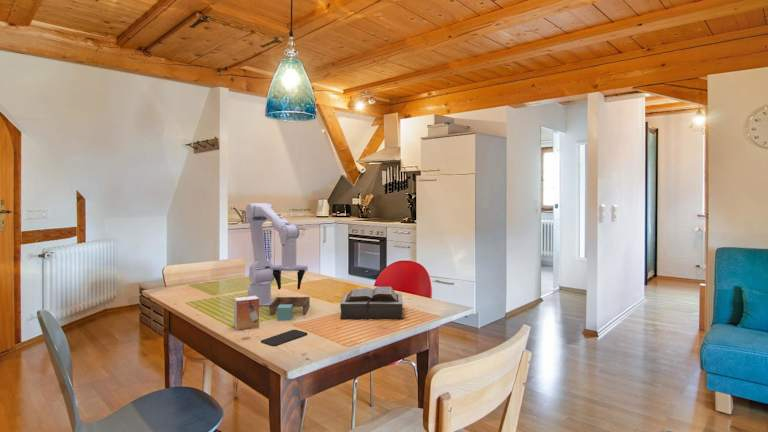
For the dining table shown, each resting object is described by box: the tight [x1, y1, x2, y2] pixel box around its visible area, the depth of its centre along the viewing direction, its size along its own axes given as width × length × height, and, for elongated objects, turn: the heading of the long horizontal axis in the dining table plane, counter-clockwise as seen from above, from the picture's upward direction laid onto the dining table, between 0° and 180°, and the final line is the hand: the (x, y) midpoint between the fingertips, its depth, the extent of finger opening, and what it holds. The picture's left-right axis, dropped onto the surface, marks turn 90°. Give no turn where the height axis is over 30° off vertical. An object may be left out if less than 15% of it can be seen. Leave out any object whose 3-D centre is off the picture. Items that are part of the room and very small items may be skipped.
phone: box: [260, 329, 308, 347], centre depth 145 cm, size 7×1×15 cm
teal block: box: [276, 304, 294, 322], centre depth 167 cm, size 5×5×5 cm
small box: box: [233, 296, 260, 331], centre depth 157 cm, size 8×6×10 cm
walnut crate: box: [269, 296, 311, 316], centre depth 179 cm, size 14×14×4 cm
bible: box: [339, 286, 404, 321], centre depth 176 cm, size 23×27×10 cm
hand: (289, 288), depth 174 cm, fingers open, 7 cm apart
